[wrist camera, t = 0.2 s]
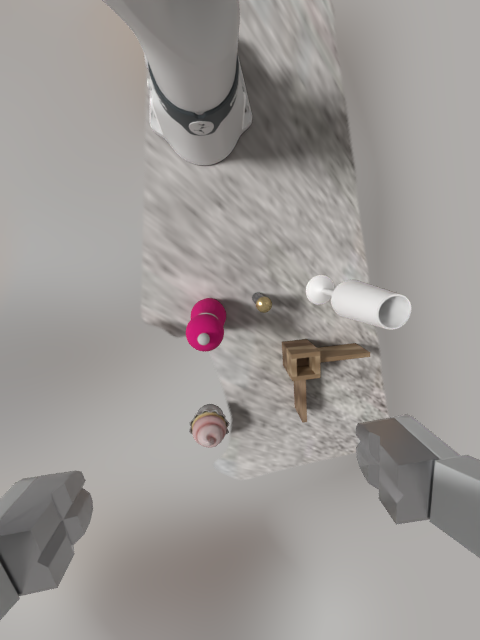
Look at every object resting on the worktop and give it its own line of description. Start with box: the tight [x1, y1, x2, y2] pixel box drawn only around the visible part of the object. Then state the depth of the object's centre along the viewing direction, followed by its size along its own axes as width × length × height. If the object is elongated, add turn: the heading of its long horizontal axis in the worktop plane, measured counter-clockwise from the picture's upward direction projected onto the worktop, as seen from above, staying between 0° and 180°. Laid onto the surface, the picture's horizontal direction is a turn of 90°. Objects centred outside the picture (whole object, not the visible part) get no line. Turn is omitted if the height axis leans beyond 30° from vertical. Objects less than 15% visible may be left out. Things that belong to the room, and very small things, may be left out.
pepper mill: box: [186, 298, 226, 351], centre depth 44 cm, size 7×7×20 cm
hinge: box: [282, 339, 370, 422], centre depth 56 cm, size 18×18×8 cm
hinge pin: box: [252, 293, 272, 313], centre depth 50 cm, size 3×3×8 cm
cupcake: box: [189, 404, 229, 448], centre depth 55 cm, size 9×9×10 cm
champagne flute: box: [306, 275, 412, 329], centre depth 43 cm, size 7×7×24 cm
